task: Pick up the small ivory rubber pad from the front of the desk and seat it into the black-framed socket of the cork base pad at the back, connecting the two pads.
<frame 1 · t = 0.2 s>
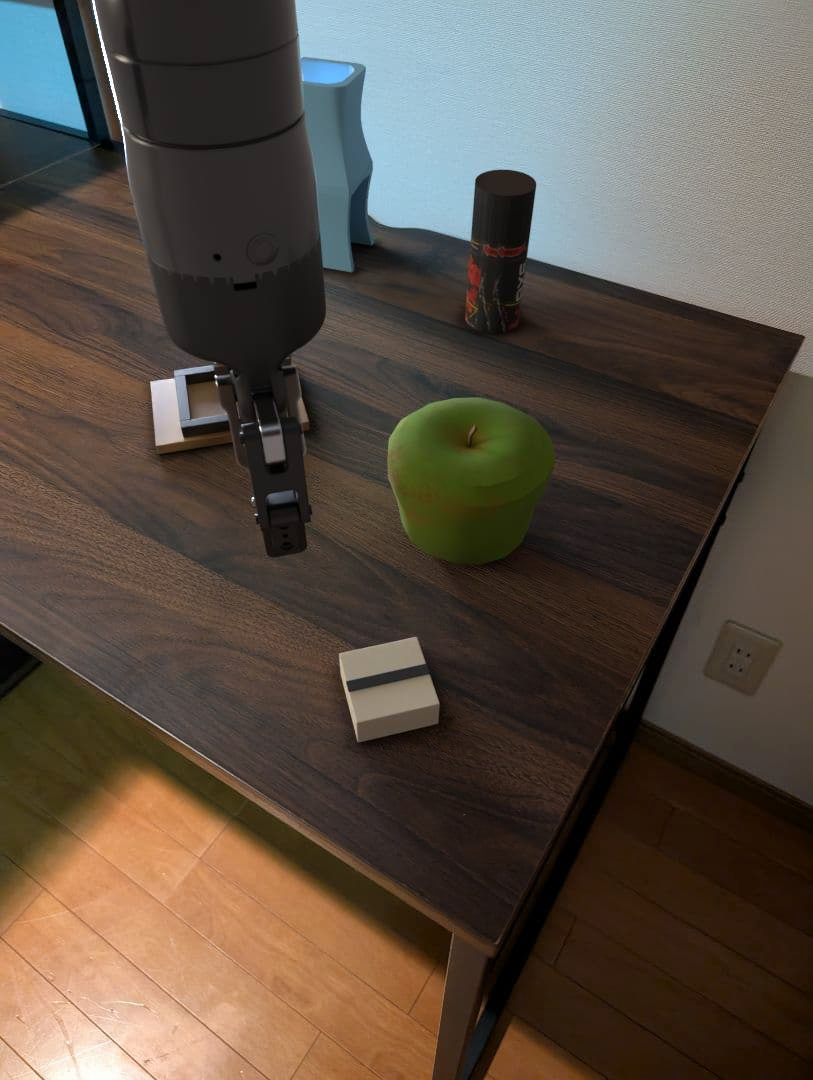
hand: (274, 497, 46), 16 cm above the table, tool pointing down, fingers open, 8 cm apart
deodorant: (491, 320, 88), on the table
ivory pad: (388, 698, 55), on the table
vase: (333, 253, 98), on the table
apple: (463, 531, 66), on the table
base pad: (229, 409, 77), on the table
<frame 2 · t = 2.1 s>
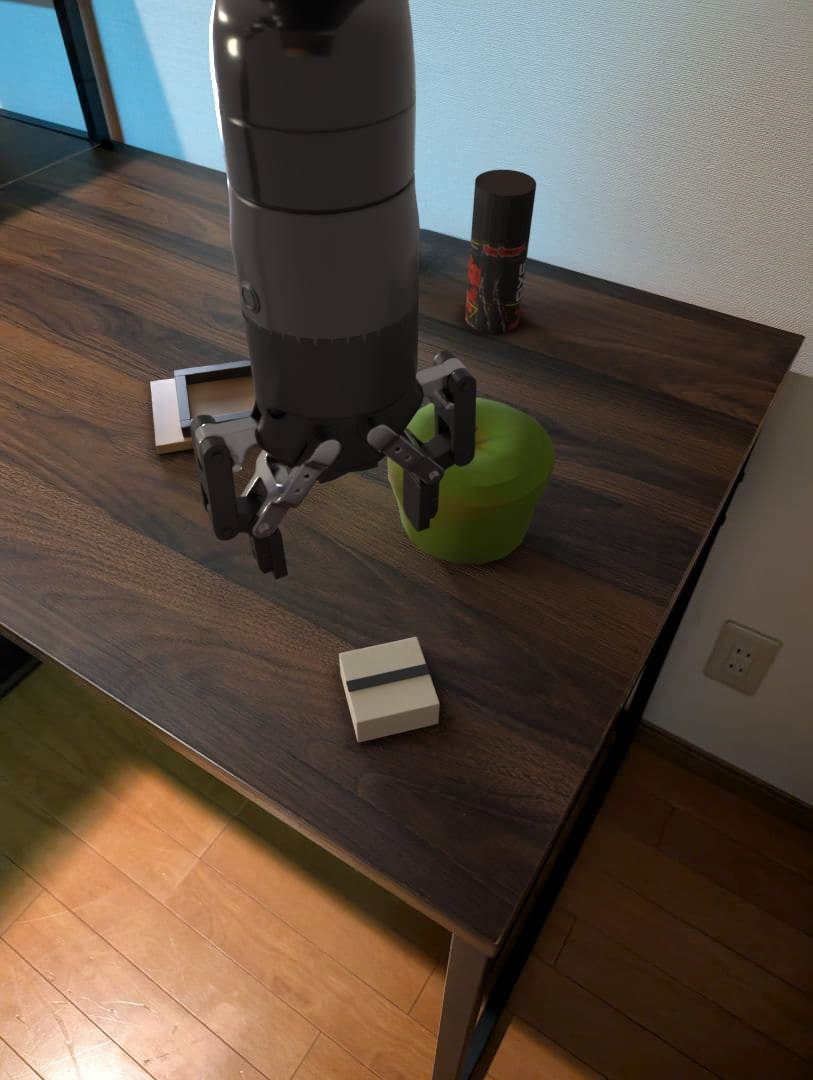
hand: (347, 543, 45), 15 cm above the table, tool pointing down, fingers open, 8 cm apart
nothing on the table moved.
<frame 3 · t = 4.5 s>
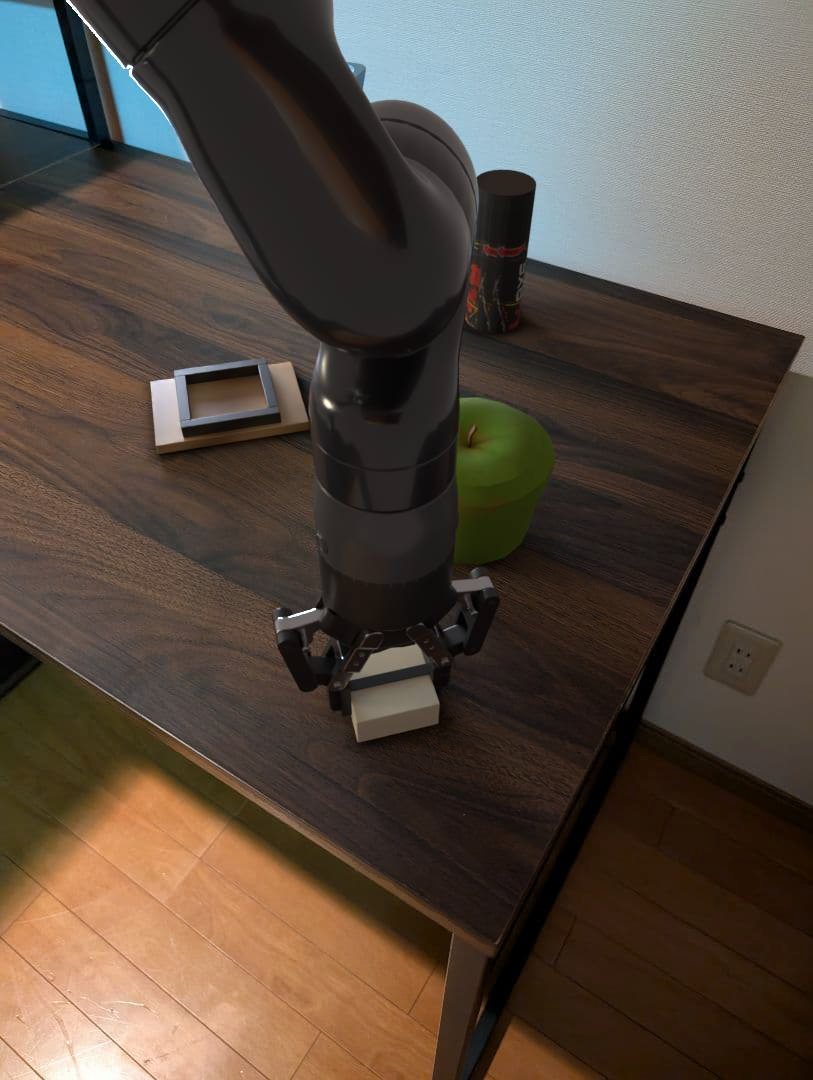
hand: (387, 694, 55), 1 cm above the table, tool pointing down, fingers closed on ivory pad, 5 cm apart
ivory pad: (388, 698, 55), on the table, touching gripper
everything else where it was.
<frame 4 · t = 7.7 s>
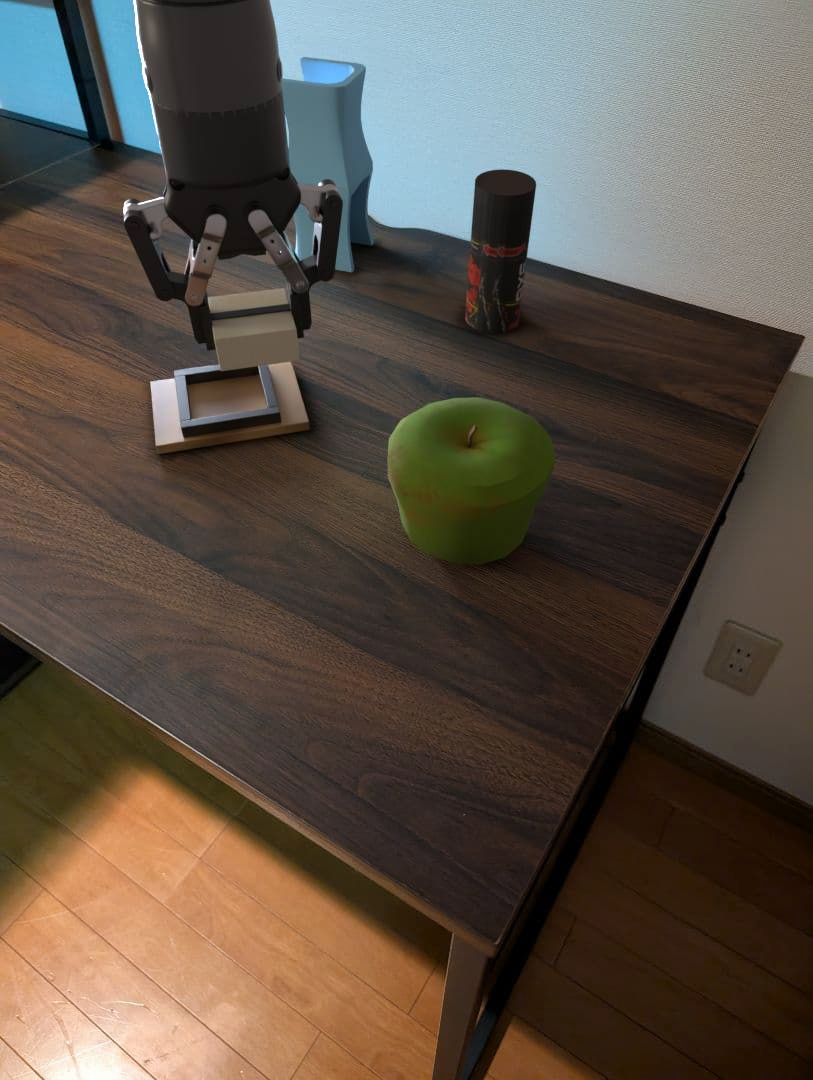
hand: (254, 337, 57), 16 cm above the table, tool pointing down, fingers closed on ivory pad, 5 cm apart
ivory pad: (255, 344, 58), point 15 cm above the table, touching gripper
everything else where it was.
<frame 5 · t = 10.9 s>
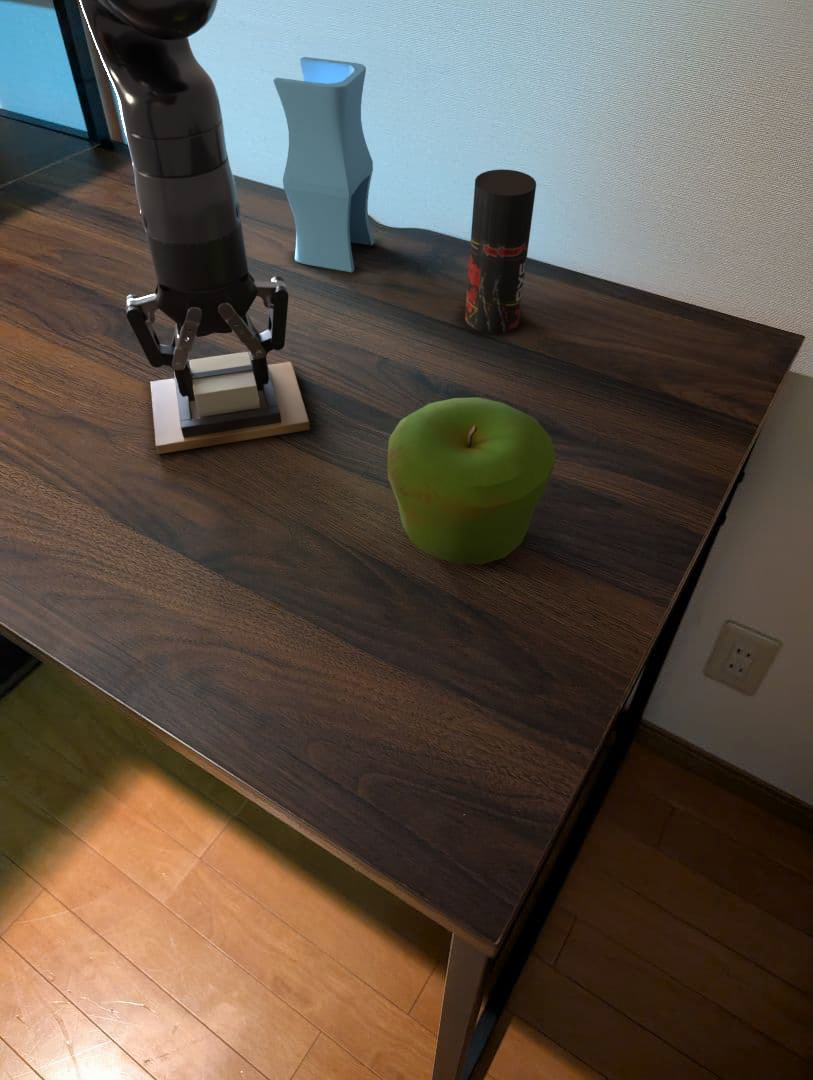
hand: (225, 390, 75), 2 cm above the table, tool pointing down, fingers closed on ivory pad, 5 cm apart
ivory pad: (226, 395, 76), point 2 cm above the table, touching gripper
everything else where it was.
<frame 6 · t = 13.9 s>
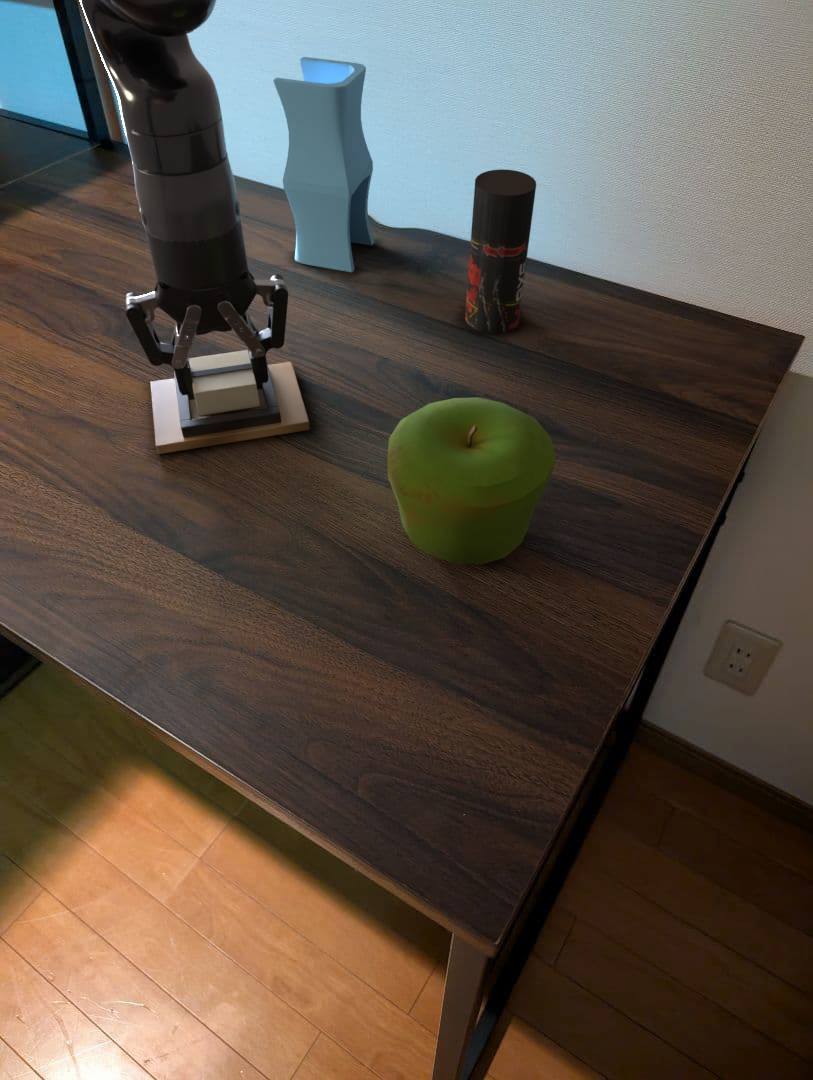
hand: (225, 389, 75), 2 cm above the table, tool pointing down, fingers closed on ivory pad, 5 cm apart
ivory pad: (226, 393, 75), point 2 cm above the table, touching gripper
everything else where it was.
when the fingers open (3 cm above the table, at t = 16.8 s): ivory pad drops 1 cm, resting on base pad.
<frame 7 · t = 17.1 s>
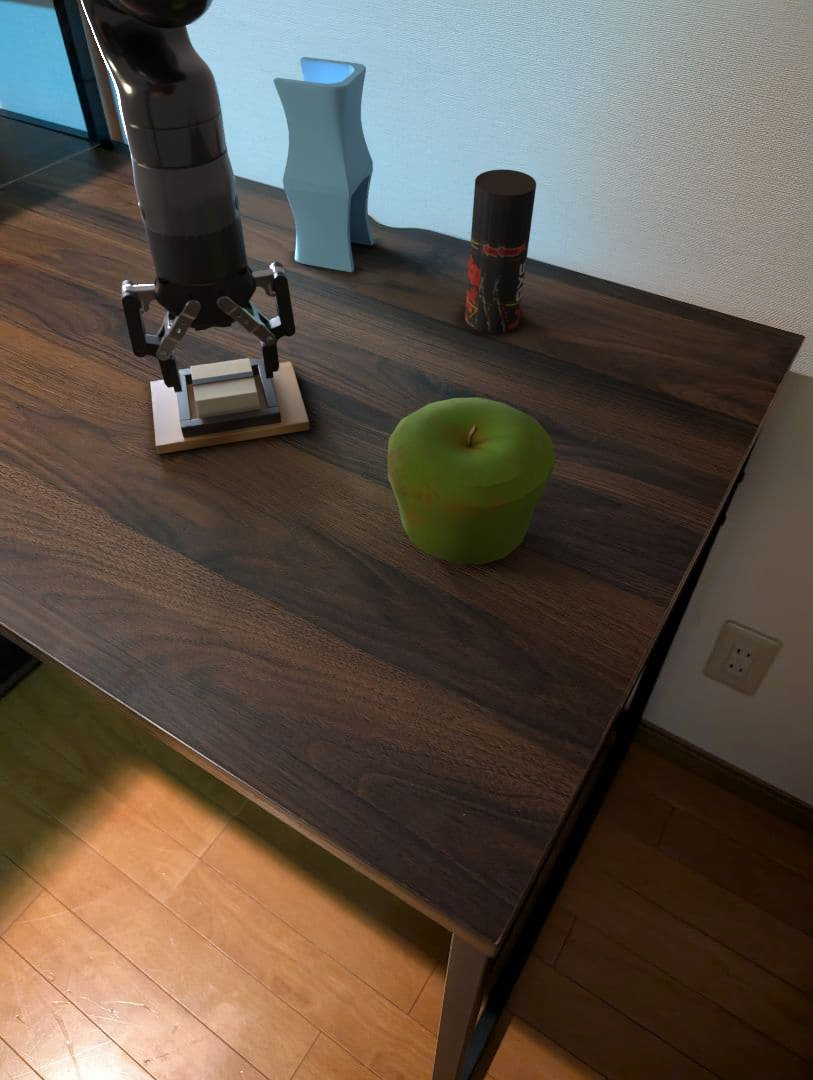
hand: (223, 380, 74), 3 cm above the table, tool pointing down, fingers open, 8 cm apart
ivory pad: (227, 401, 76), point 1 cm above the table, touching base pad
everything else where it was.
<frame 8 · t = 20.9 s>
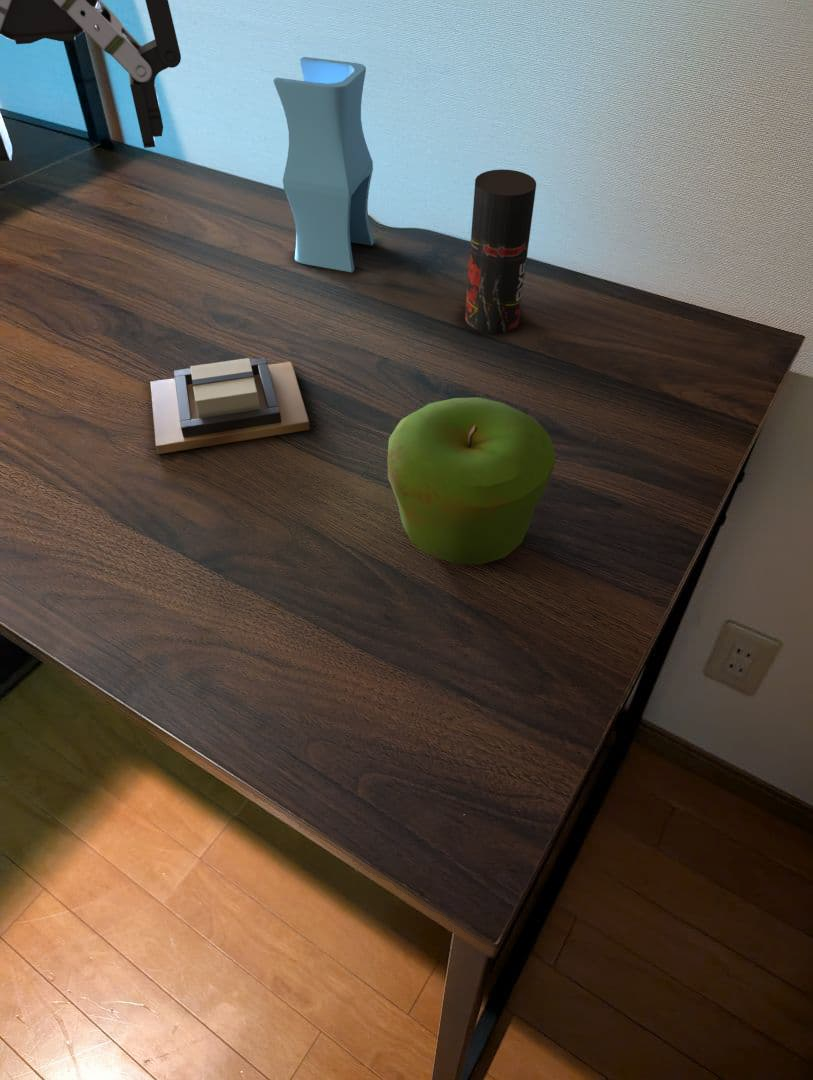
hand: (78, 149, 49), 28 cm above the table, tool pointing down, fingers open, 8 cm apart
nothing on the table moved.
at the end: ivory pad 0.0 cm off-centre on the base pad, point 1.0 cm above the base pad's base; ivory pad tilted 0° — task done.
